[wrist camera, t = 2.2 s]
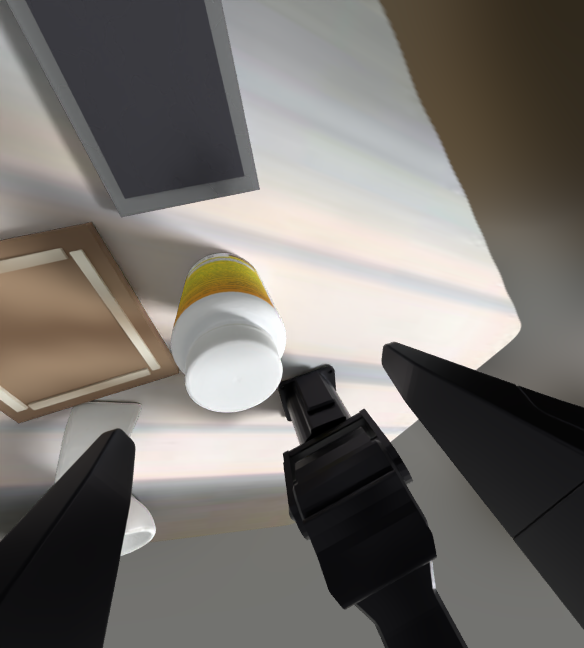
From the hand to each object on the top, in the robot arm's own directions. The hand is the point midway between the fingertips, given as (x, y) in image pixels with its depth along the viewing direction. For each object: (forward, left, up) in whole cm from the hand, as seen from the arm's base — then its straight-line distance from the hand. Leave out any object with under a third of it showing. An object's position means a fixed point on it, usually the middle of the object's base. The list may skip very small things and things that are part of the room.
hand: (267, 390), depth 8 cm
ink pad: (+10, +1, -12) cm, 16 cm away
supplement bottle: (-1, +1, -12) cm, 12 cm away
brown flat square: (-1, +13, -12) cm, 18 cm away
